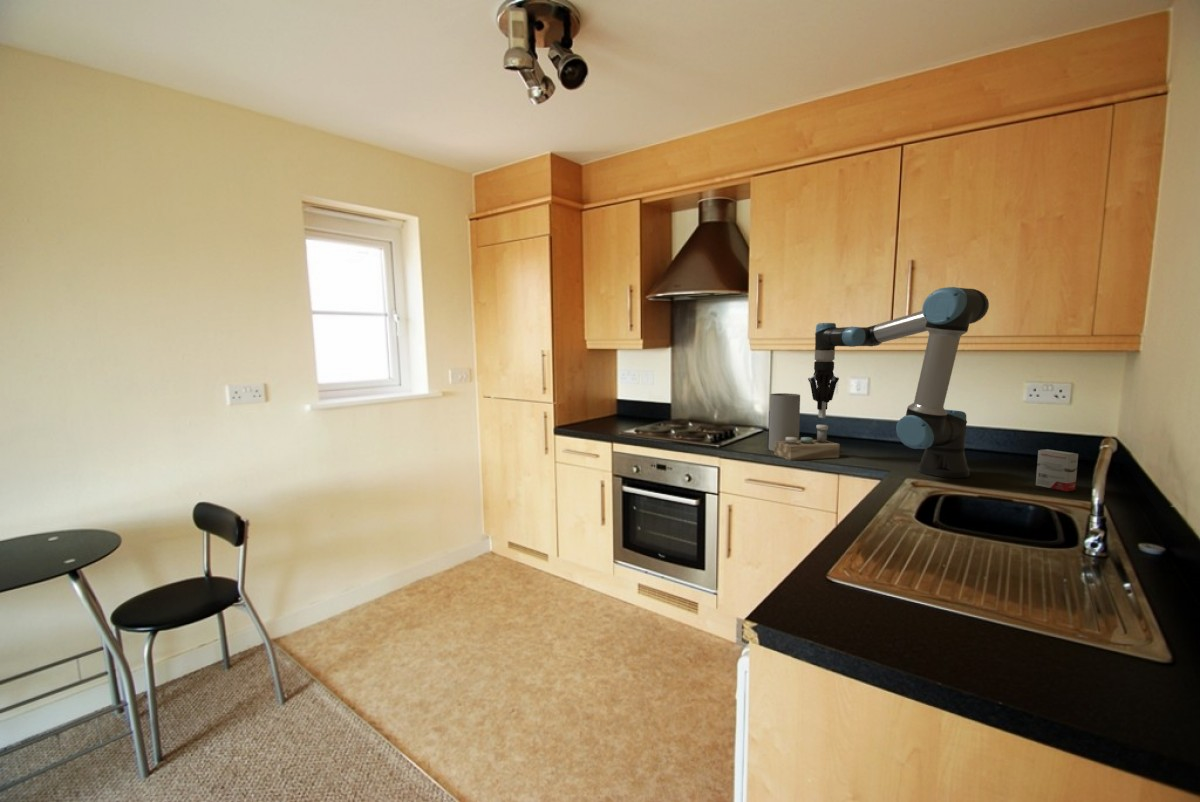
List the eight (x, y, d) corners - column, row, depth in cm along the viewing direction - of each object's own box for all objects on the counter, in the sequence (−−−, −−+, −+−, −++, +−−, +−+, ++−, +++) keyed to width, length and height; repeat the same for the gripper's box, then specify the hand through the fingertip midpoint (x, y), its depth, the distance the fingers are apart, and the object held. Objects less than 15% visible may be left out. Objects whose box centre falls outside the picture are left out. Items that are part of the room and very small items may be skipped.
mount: (839, 458, 207) (839, 444, 207) (790, 461, 203) (790, 446, 203) (820, 452, 219) (821, 439, 218) (774, 455, 215) (774, 441, 214)
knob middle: (814, 456, 209) (815, 438, 208) (804, 457, 208) (805, 439, 208) (807, 454, 214) (808, 436, 213) (798, 454, 213) (798, 437, 212)
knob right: (830, 443, 210) (830, 426, 209) (820, 444, 209) (820, 426, 208) (823, 441, 215) (823, 424, 214) (813, 442, 214) (813, 424, 213)
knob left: (799, 456, 208) (799, 438, 207) (789, 457, 207) (789, 438, 206) (792, 454, 212) (793, 436, 212) (782, 454, 211) (783, 437, 211)
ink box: (1076, 490, 159) (1079, 453, 158) (1067, 492, 157) (1070, 454, 156) (1043, 483, 167) (1046, 448, 165) (1034, 485, 165) (1037, 449, 164)
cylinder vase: (763, 448, 230) (764, 393, 227) (789, 447, 231) (790, 393, 229) (777, 454, 217) (778, 396, 215) (804, 452, 219) (806, 395, 217)
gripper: (832, 360, 213) (830, 415, 216) (804, 360, 211) (802, 416, 213) (844, 360, 206) (841, 418, 209) (815, 361, 203) (813, 419, 206)
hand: (821, 417), depth 211 cm, fingers closed
